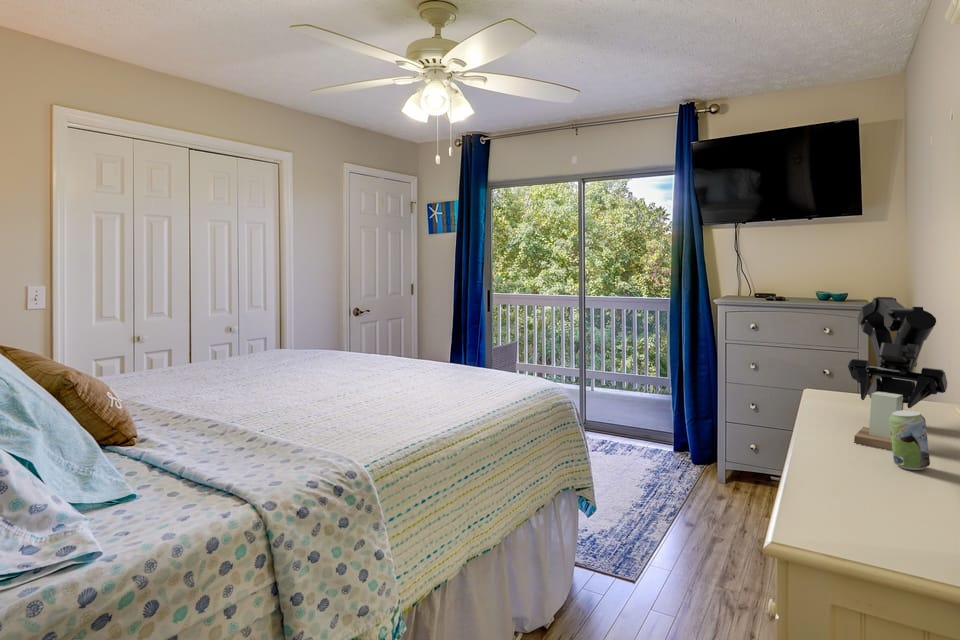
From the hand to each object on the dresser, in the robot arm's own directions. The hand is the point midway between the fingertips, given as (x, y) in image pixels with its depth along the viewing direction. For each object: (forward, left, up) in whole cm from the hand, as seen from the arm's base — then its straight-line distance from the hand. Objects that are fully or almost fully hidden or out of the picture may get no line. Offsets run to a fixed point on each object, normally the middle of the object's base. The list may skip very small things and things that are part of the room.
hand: (884, 402), depth 130 cm
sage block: (-1, 0, -8) cm, 8 cm away
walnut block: (-1, 0, -11) cm, 11 cm away
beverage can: (+14, +7, -10) cm, 18 cm away
